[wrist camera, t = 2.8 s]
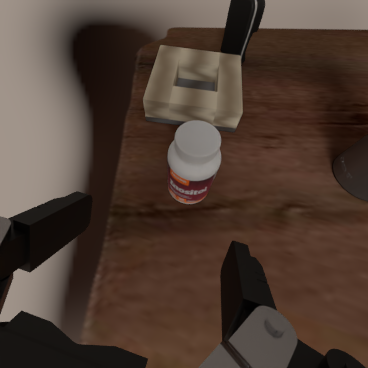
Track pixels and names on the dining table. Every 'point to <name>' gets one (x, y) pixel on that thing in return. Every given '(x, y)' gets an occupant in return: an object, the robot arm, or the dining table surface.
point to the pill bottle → (193, 161)
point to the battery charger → (241, 25)
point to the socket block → (195, 88)
